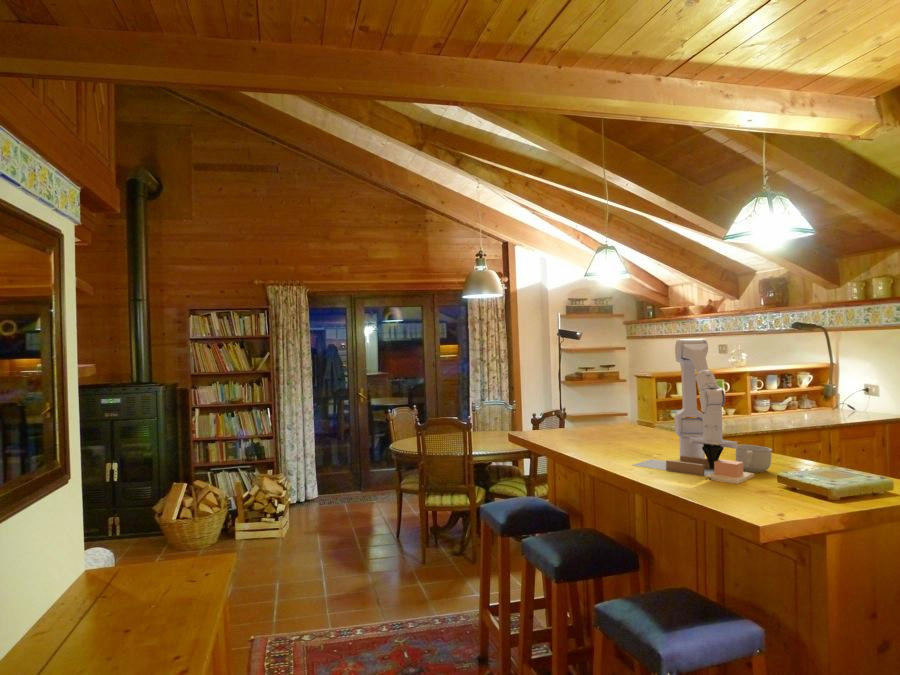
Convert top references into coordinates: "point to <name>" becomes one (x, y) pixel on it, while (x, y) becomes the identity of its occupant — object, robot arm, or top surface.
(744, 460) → the teacup
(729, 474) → the terracotta block
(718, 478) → the tunnel board
